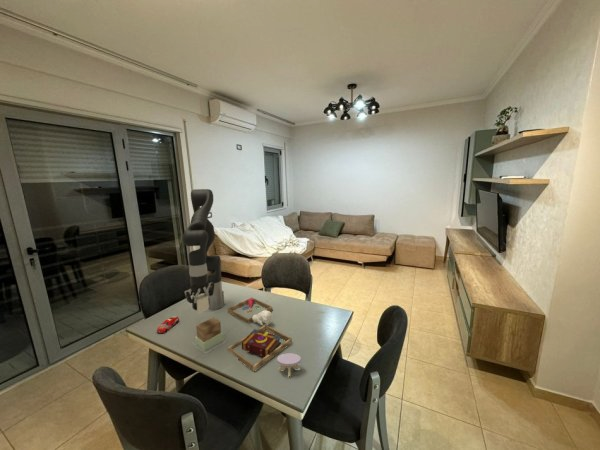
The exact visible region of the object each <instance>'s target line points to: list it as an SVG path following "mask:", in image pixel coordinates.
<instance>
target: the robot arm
mask: <svg viewBox="0 0 600 450" xmlns="http://www.w3.org/2000/svg"><path fill="white" fill-rule="evenodd" d="M190 201H191V204H192V205H191V206H192V209H193V214H192V216H191V219H190V224H189V225H188V227H187V228H186V229H185V231H184V233H182V243H183V245H185V247H197V246H199V248H198V249H193V250H192V251H190V252H189V253H188V262H189V263H188V264H189V268H188V272H189V281H190V287H189V289H186V290H184V291H183V293H184V296H185V298H186V301H187V302H188V304H191V306H192V307H191V308H192V309H193V310H194V311H196V310H197V303H196V301H197V298H198V296H199V295H200V294H204V295H206V296H208V301H209V309H208V310H210V311H216V310H219V309H221V308H223V307H224V306H225V296H224V294H225V293H224V290H223V286H222V285H223V283H222V260H221V256H220V255H208V251H209V249H210V247H211V246H212V244H213V243H214V240H215V238H216V234H215V233H216V232H215V227H214V225H213V223H212V222H211V221H210V220H209V218H208V217H209V214H210V212H211V210H212V207H213V204H214V193H213V191H212V190H211V189H208V188H207V189H206V188H201V189H199V188H197V189H196V188H195V189H192V190H191V191H190ZM208 272H213V273H211V274H208ZM191 296H192V297H191Z"/></svg>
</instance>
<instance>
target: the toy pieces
mask: <svg viewBox="0 0 600 450" xmlns="http://www.w3.org/2000/svg"><path fill="white" fill-rule="evenodd" d="M253 298H254V297H252V298H251V297H250V299H249V298H247V299H248V301H247V303H248V304H247V305H248V306H242V311H246V310H247V311H246V313H247V314H249V313H250V314H251V312H252V311H253V309H252V307H253V305H254V303H253V301H254V299H255V298H254V299H253ZM259 306H260V305H256V306H254V307H255V308H256V309H255V308H254V307H253V308H254V310H258V309H257V308H259ZM252 313H253V312H252Z"/></svg>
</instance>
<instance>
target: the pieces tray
mask: <svg viewBox="0 0 600 450" xmlns="http://www.w3.org/2000/svg"><path fill="white" fill-rule="evenodd" d="M250 298H253V299H254V301H253V304H256V305H257V306H260V307H262V308H264V307H265V308H264V309H265V310H266V311H271V312H272V311H273V306H272V305H270V304H267V303H265V302H264V301H261V300H258V299H256V298H254V297H250ZM250 298H246V299H245V300H243V301H240V302H238V303H236V304H235V305H232V306H230V307H228V308H227V313H228V314H230V315H232V316H233V317H235V318H236V319H238V320H240V321H242V322H243V323H246V324H247V325H249V324H251V323H254V321H253V320H252V317H253V316H251V317H248V318H247V317H245V316H244V315H243V314H240V313H239V312H236V311H235V310H237V309H239V308H241V307H242V308H243V307H245V306H246V305H248V303H247V301H248V299H250ZM266 308H267V309H266ZM259 313H260V312H259ZM259 313H256V314H255V315H257V314H259Z"/></svg>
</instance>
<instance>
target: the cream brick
mask: <svg viewBox="0 0 600 450" xmlns="http://www.w3.org/2000/svg"><path fill="white" fill-rule="evenodd" d="M196 303H197V310H195V311H196V312H197V313H201V312H204V311H207V310H210V309H209V301H208V296H206V295H204V294H200V295H199V296H198V298H197V301H196Z"/></svg>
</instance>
